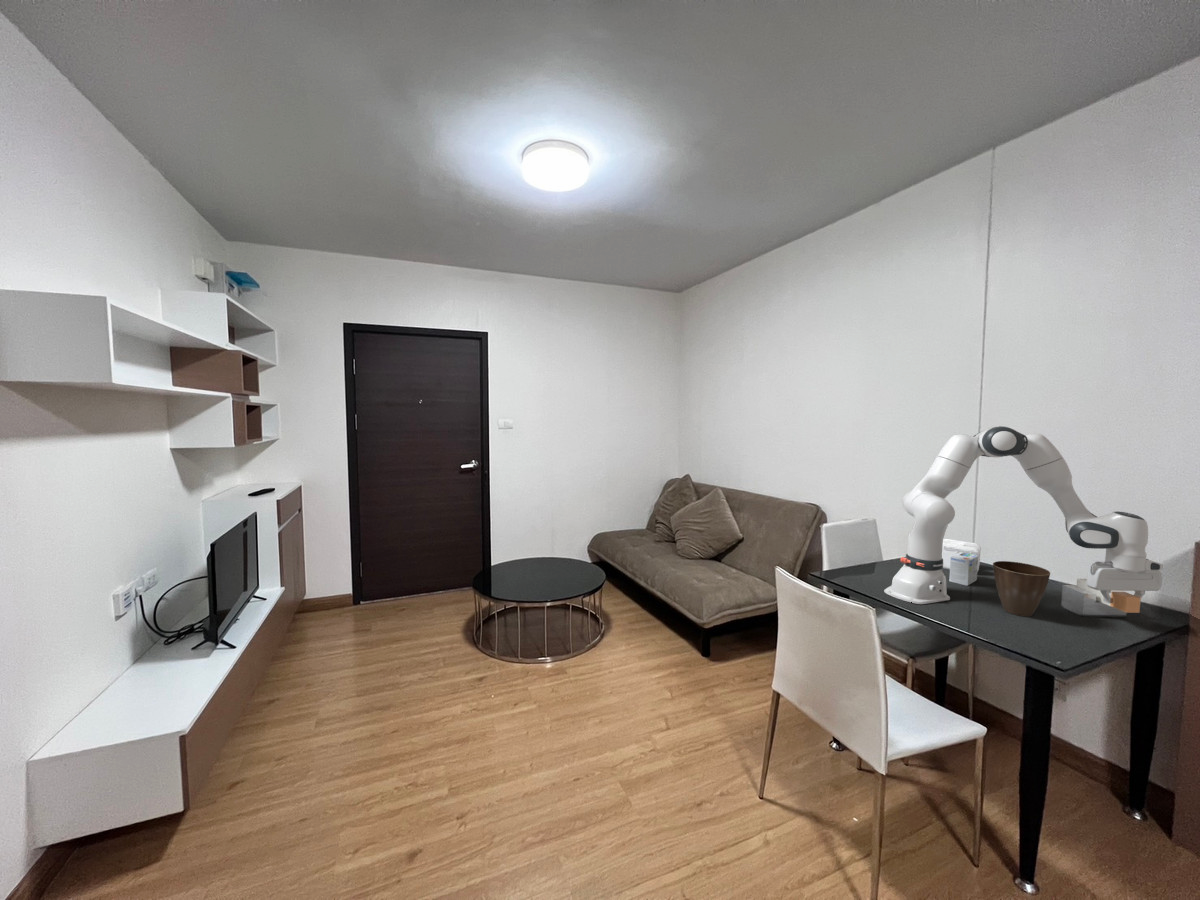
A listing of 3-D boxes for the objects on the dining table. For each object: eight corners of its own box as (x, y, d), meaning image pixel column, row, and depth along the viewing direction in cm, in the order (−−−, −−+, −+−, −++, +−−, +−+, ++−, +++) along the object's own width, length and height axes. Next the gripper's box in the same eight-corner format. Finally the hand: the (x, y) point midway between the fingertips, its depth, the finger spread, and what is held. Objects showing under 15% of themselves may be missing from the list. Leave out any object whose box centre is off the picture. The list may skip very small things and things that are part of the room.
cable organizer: (981, 570, 207) (983, 544, 206) (977, 575, 200) (979, 549, 199) (940, 562, 218) (942, 537, 217) (935, 567, 211) (936, 542, 210)
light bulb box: (958, 575, 200) (959, 551, 199) (977, 580, 195) (979, 555, 194) (948, 581, 194) (949, 556, 193) (968, 586, 188) (969, 560, 187)
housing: (1061, 606, 168) (1062, 585, 168) (1102, 607, 168) (1104, 585, 167) (1082, 616, 160) (1084, 593, 160) (1126, 617, 160) (1128, 594, 159)
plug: (1075, 592, 168) (1077, 578, 168) (1087, 592, 168) (1088, 578, 167) (1126, 612, 151) (1127, 597, 151) (1139, 612, 151) (1140, 597, 150)
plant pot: (988, 600, 175) (990, 558, 173) (1042, 609, 166) (1045, 565, 165) (992, 614, 162) (995, 569, 161) (1051, 625, 154) (1055, 578, 153)
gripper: (1101, 564, 151) (1097, 606, 152) (1168, 565, 150) (1164, 607, 151) (1082, 558, 157) (1079, 598, 158) (1147, 559, 156) (1143, 599, 157)
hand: (1121, 602), depth 154 cm, fingers open, 7 cm apart
